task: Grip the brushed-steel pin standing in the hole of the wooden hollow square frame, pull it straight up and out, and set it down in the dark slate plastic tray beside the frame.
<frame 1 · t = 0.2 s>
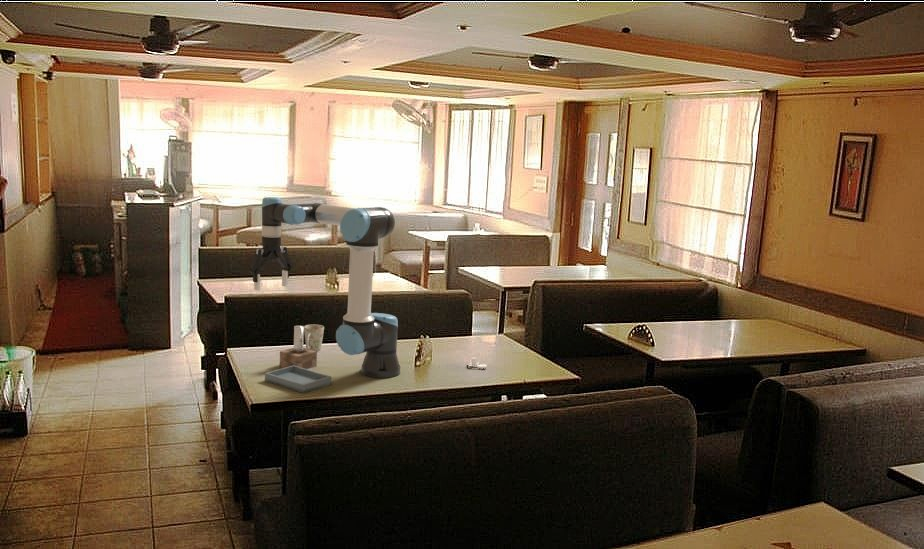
hand: (271, 288, 308), 28 cm above the table, tool pointing down, fingers open, 13 cm apart
teacup and saucer: (474, 370, 308), on the table
wooden hollow square frame: (298, 366, 298), on the table
steel pin: (298, 346, 297), in the wooden hollow square frame
slate tray: (298, 382, 279), on the table
mug: (312, 351, 321), on the table
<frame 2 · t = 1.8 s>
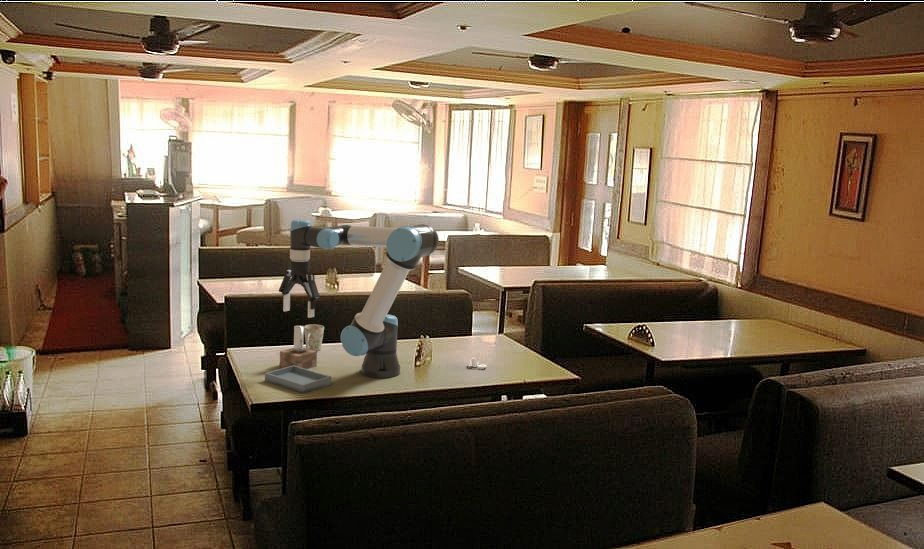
hand: (298, 314, 295), 21 cm above the table, tool pointing down, fingers open, 13 cm apart
nothing on the table moved.
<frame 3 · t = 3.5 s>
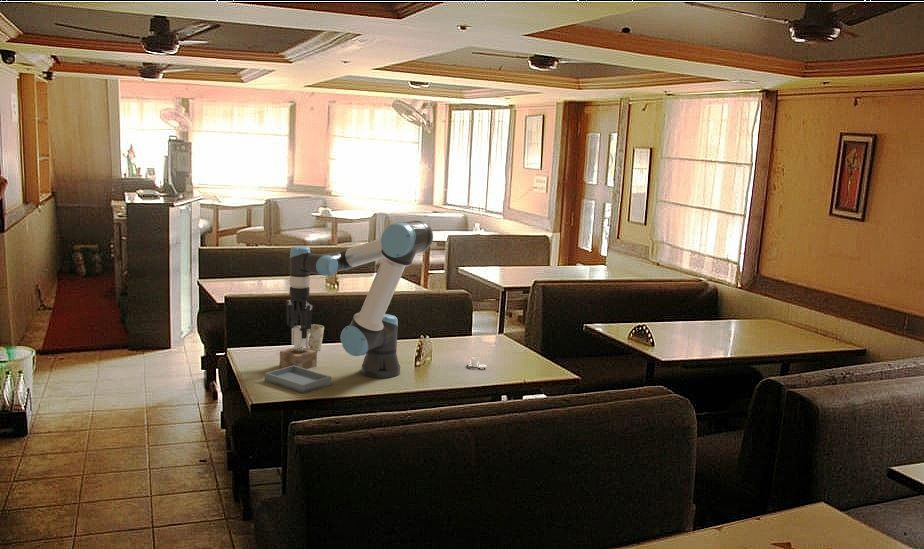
hand: (298, 345, 297), 9 cm above the table, tool pointing down, fingers closed on steel pin, 3 cm apart
steel pin: (298, 346, 297), in the wooden hollow square frame, touching gripper
everything else where it was.
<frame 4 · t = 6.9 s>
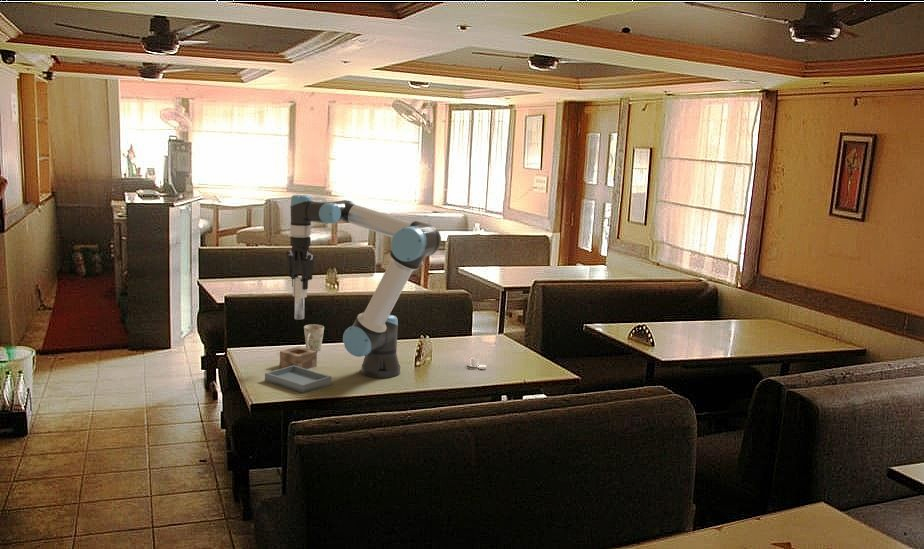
hand: (299, 296, 291), 28 cm above the table, tool pointing down, fingers closed on steel pin, 3 cm apart
steel pin: (299, 298, 291), point 28 cm above the table, touching gripper
everything else where it was.
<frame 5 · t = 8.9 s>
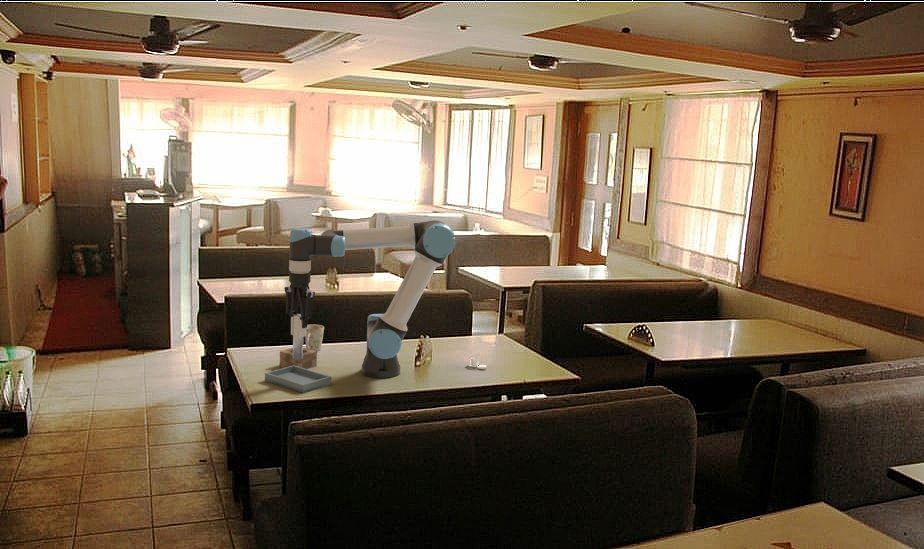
hand: (298, 335, 276), 18 cm above the table, tool pointing down, fingers closed on steel pin, 3 cm apart
steel pin: (298, 336, 276), point 17 cm above the table, touching gripper
everything else where it was.
when the fingers open (11 cm above the table, at t = 10.6 s): steel pin drops 1 cm, resting on slate tray.
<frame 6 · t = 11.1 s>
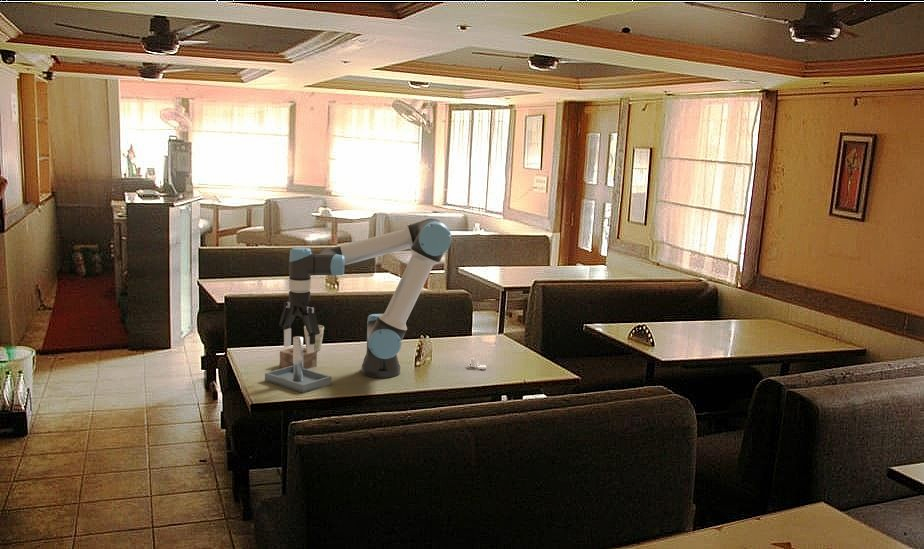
hand: (298, 349, 277), 13 cm above the table, tool pointing down, fingers open, 11 cm apart
steel pin: (298, 358, 277), in the slate tray, point 9 cm above the table
everything else where it was.
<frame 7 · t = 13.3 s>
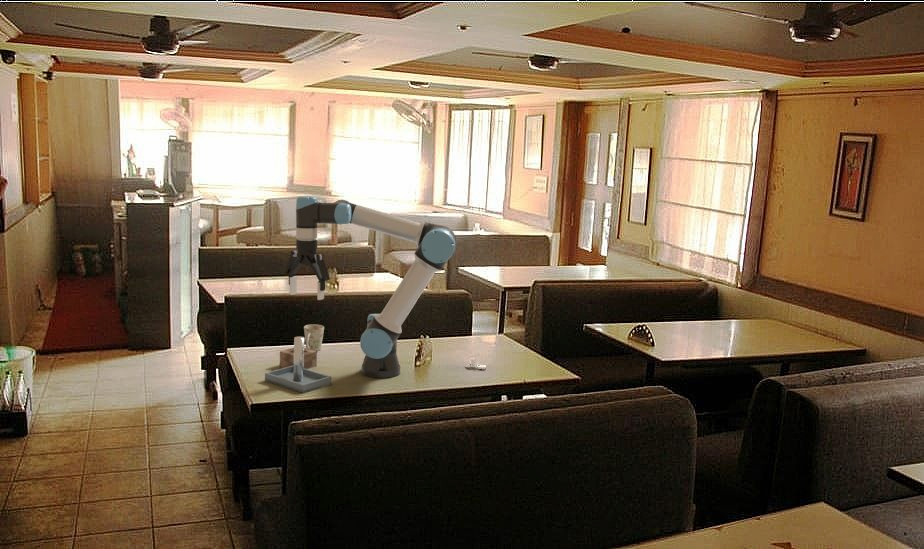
hand: (306, 296, 278), 31 cm above the table, tool pointing down, fingers open, 13 cm apart
nothing on the table moved.
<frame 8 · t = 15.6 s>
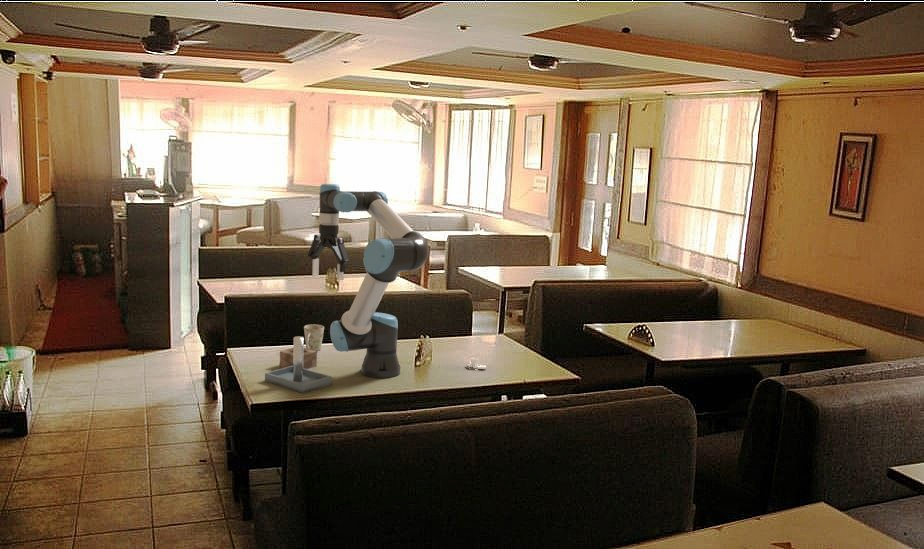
hand: (327, 277, 299), 35 cm above the table, tool pointing down, fingers open, 13 cm apart
at the end: steel pin inside the target area on the slate tray (0.0 cm from its centre), point 9.0 cm above the slate tray's base; the gripper is holding nothing; steel pin touching slate tray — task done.
